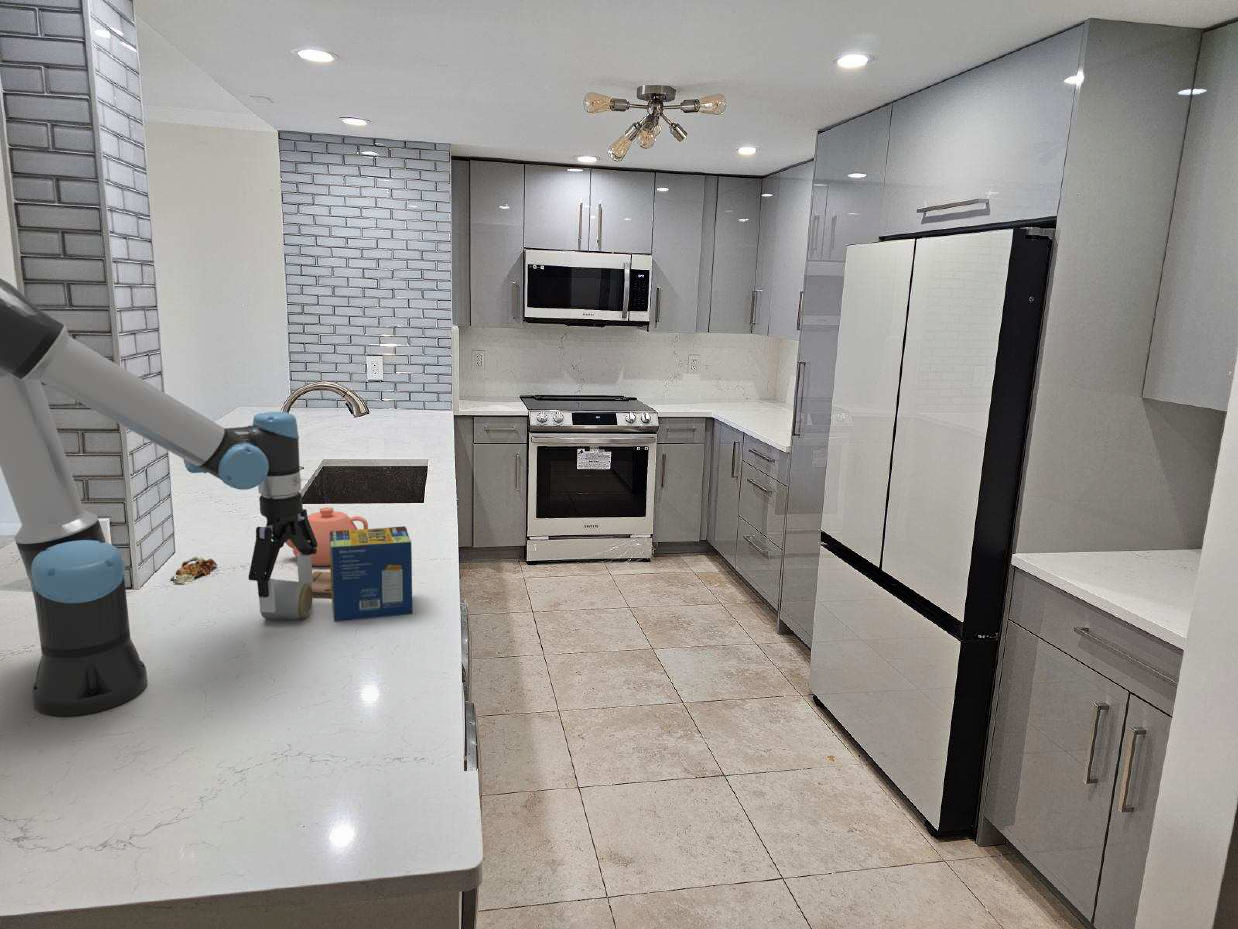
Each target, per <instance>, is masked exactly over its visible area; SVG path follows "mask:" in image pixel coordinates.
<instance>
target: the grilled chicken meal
mask: <svg viewBox="0 0 1238 929" xmlns="http://www.w3.org/2000/svg"><path fill="white" fill-rule="evenodd" d="M191 562H193V563H191ZM214 566H215V567H218V564H217V563H216V562H215V560H214V559H212V558H208V559H205V558H204V557H197V556H193V557H192V558H189V559H188V560H184V561H183V562H182V563H181V567H180V568H178V569H177V570H176V572H175V575H177V576H176V579H174V578H175V575H174V576H171V578H170V582H171V581H173V583H175V584H174V585H177V584H178V585H179V584H183V585H185V584H184V583H185V582H191V583H193V582H194V581H195V577H199V576H201V575H202V574H203V575H204V576H206V575H208V576H209V575H211V573H210V572H212V573H213V567H214ZM193 580H194V581H193ZM192 581H193V582H192Z"/></svg>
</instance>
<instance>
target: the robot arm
mask: <svg viewBox="0 0 1238 929" xmlns="http://www.w3.org/2000/svg"><path fill="white" fill-rule="evenodd" d="M68 331H69V330H68V329H67V326H66V325H65V324H64V323H61V322H60V321H58V320H56V319H55V318H53V317H52V316H50V315H48V313H46V312H44V311H43V310H42V309H40V308H39V307H38V306H37V305H35V304H34V303H33V302H32V301H31V300H29V298H27V297H26V296H25V295H24V294H23V293H22V292H20V290H18V289H17V288H16V287H15V286H14V285H12V283H9V282H8V281H6V280H4V279H2V278H0V469H1V472H2V476H3V478H4V481H5V483H6V485H7V489H8V491H9V494H10V496H11V499H12V502H13V505H14V508H15V511H16V512H17V515H18V518H19V521H20V524H21V527H20V528H19V530H18V531H17V533H16V535H14V541H15V543H16V546H17V549H18V552H19V555H20V558H21V560H22V563H23V565H24V568H25V572H26V576H27V578H28V580H29V583H30V587H31V591H32V596H33V599H34V604H35V611H36V619H37V628H38V635H39V642H40V651H41V656H40V661H39V664H38V669H37V673H36V676H35V677H36V678H35V682H34V684H33V686H32V690H31V693H32V695H31V697H32V700H33V701H32V702H33V706H34V709H35V710H36V711H38V712H39V713H42V714H44V715H49V716H57V717H74V716H81V715H88V714H93V713H94V714H95V713H97V712H98V713H99V712H103V711H104V710H108V709H111V708H114V707H117V706H119V705H122V704H124V703H126V702H128V701H130V700H132V699H133V698H135V697H137V696H138V695H139V694H141V693H142V692H143V691H144V690H145V688H146V687H147V685H148V675H147V674H148V673H147V667H146V665H145V664H144V662H143V661H142V660H141V659H140V656H139V654H138V651H137V648H136V647H135V645H134V643H133V641H132V638H131V631H130V630H131V629H130V621H129V620H130V619H129V609H128V608H129V607H128V599H127V591H126V581H125V576H126V575H125V574H126V565H125V562H124V560H123V557H122V553H121V551H120V550H119V549H118V548H117V547H116V546H114V545H113V544H111V543H108V542H107V540H106V537H105V534H104V531H103V529H102V525H101V523H100V520H99V517H98V515H97V514H95V513H93V512H90V511H88V510H86V509H84V506H83V504H82V500H81V497H80V495H79V492H78V489H77V485H76V483H75V479H74V476H73V473H72V470H71V466H70V464H69V462H68V458H67V455H66V453H65V450H64V446H63V444H62V440H61V437H60V435H59V433H58V429H57V426H56V423H55V421H54V420H55V419H54V417H53V414H52V411H51V409H50V405H49V402H48V400H47V397H46V394H45V390H44V388H43V385H42V383H43V384H45V385H46V386H49V387H50V388H52V389H54V390H55V391H58V392H59V393H61V394H63V395H65V396H67V397H69V398H71V399H72V400H74V401H76V402H78V403H79V404H82V405H83V406H85V407H87V408H89V409H91V410H93V411H95V412H97V414H100V415H102V416H103V417H106V418H108V419H109V420H111V421H113V422H115V423H117V424H118V425H121V426H122V427H124V428H126V429H127V430H129V431H131V432H133V433H134V434H137V435H139V436H141V437H143V438H145V439H146V440H147V441H150V442H151V443H153V444H155V445H156V446H159V447H161V448H163V449H165V450H167V451H168V452H169V453H172V454H173V455H176V456H178V457H179V458H181V459H183V460H182V461H183V463H184V464H183V465H184V467H185V468H186V470H187V471H188V472H189V473H190V474H202V473H203V474H209V475H212V476H214V477H216V479H219V480H221V481H222V482H223V483H224V484H225V485H226V486H229V487H231V488H234V489H236V490H240V491H241V490H243V491H244V490H245V491H246V490H251V489H254V488H256V487H258V488H257V490H258V493H259V494H260V496H259V511H260V512H259V513H260V514H261V516H263V517H264V518H266V524H265V526H257V527H255V528H256V529H255V543H254V548H253V552H252V557H251V562H250V568H249V572H248V580H249V581H252V582H253V581H255V582H256V585H257V595H258V599H259V600H258V601H259V612H260V613H261V612H270V613H274V612H275V611H276V609H275V595H274V581H273V579H274V578H271V577H272V575H273V571H274V568H275V565H276V561H277V559H278V556H279V553H280V550H281V548H283V547H284V546H285V544H286V543H285V542H286V541H287V540H288V539H290V540H291V542H292V543H293V544H294V546H295V547H296V548H297V550H298V551H299V552H300V553H302V554H298V555H297V557H296V562H297V575H298V576H297V577H298V582H304V583H307V584H309V585H310V586H312V585H313V575H312V573H313V565H312V558H311V554H316V552H317V549H314V548H317V546H318V544H317V541H316V538H315V536H314V533H313V531H312V528H311V526H310V523H309V520H308V511H307V509H306V508H303V494H302V493H301V492H300V491H302V484H301V483H302V477H301V472H300V471H301V466H300V446H299V445H300V444H299V442H300V441H299V439H300V436H299V430H298V422H297V419H296V416H295V415H294V414H292V413H290V412H288V411H287V412H284V411H269V412H268V411H267V412H260V413H257V414H255V415H254V416H253V421H252V425H248V426H241V427H223V426H221V425H220V424H218V423H216V422H215V421H213V420H211V419H210V418H208V417H206V416H204V415H203V414H202V413H200V412H198V411H196V410H195V409H192V408H191V407H189V406H188V405H186V404H184V403H183V402H181V401H179V400H177V399H175V398H174V397H172V396H171V395H169V394H167V393H165V392H164V391H162V390H161V389H159V388H157V387H155V386H154V385H153V384H151V383H149V382H147V381H145V380H143V379H142V378H141V377H139V376H137V375H136V374H133V373H132V372H130V371H128V370H127V369H125V368H123V367H122V366H120V365H118V364H116V362H113V361H112V360H110V359H109V358H107V357H105V356H103V354H102V355H101V354H100V353H99V352H96V351H95V350H93V349H92V348H90V347H88V346H87V345H86V344H83V343H81V342H80V341H78V340H76V339H75V338H73V337H72V336H70V335H69V332H68ZM308 541H311V542H308Z"/></svg>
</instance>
